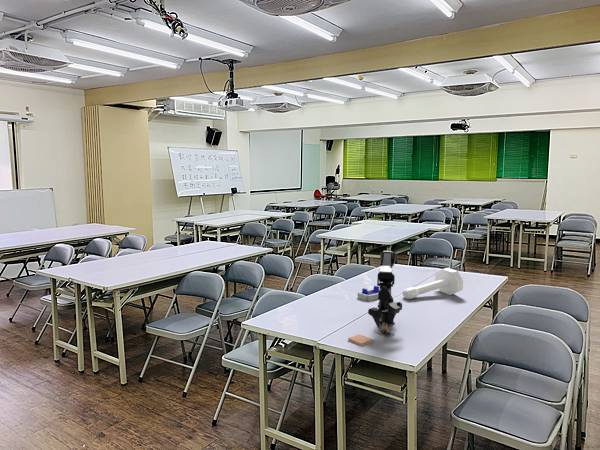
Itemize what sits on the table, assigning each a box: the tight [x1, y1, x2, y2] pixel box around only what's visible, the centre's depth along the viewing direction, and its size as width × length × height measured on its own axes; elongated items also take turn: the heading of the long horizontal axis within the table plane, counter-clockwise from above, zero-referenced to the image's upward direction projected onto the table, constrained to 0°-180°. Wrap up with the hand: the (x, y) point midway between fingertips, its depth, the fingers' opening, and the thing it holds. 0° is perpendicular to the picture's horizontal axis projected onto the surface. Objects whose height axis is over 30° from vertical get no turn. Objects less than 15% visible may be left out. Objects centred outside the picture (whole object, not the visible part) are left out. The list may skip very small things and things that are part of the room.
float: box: [375, 322, 395, 338], centre depth 231 cm, size 8×5×6 cm, turn 37°
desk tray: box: [357, 288, 380, 302], centre depth 296 cm, size 10×18×4 cm, turn 126°
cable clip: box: [361, 285, 380, 295], centre depth 297 cm, size 12×4×6 cm, turn 126°
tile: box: [347, 333, 374, 347], centre depth 221 cm, size 9×2×8 cm
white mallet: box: [402, 267, 464, 300], centre depth 297 cm, size 24×18×35 cm
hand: (384, 325), depth 231 cm, fingers open, 9 cm apart
